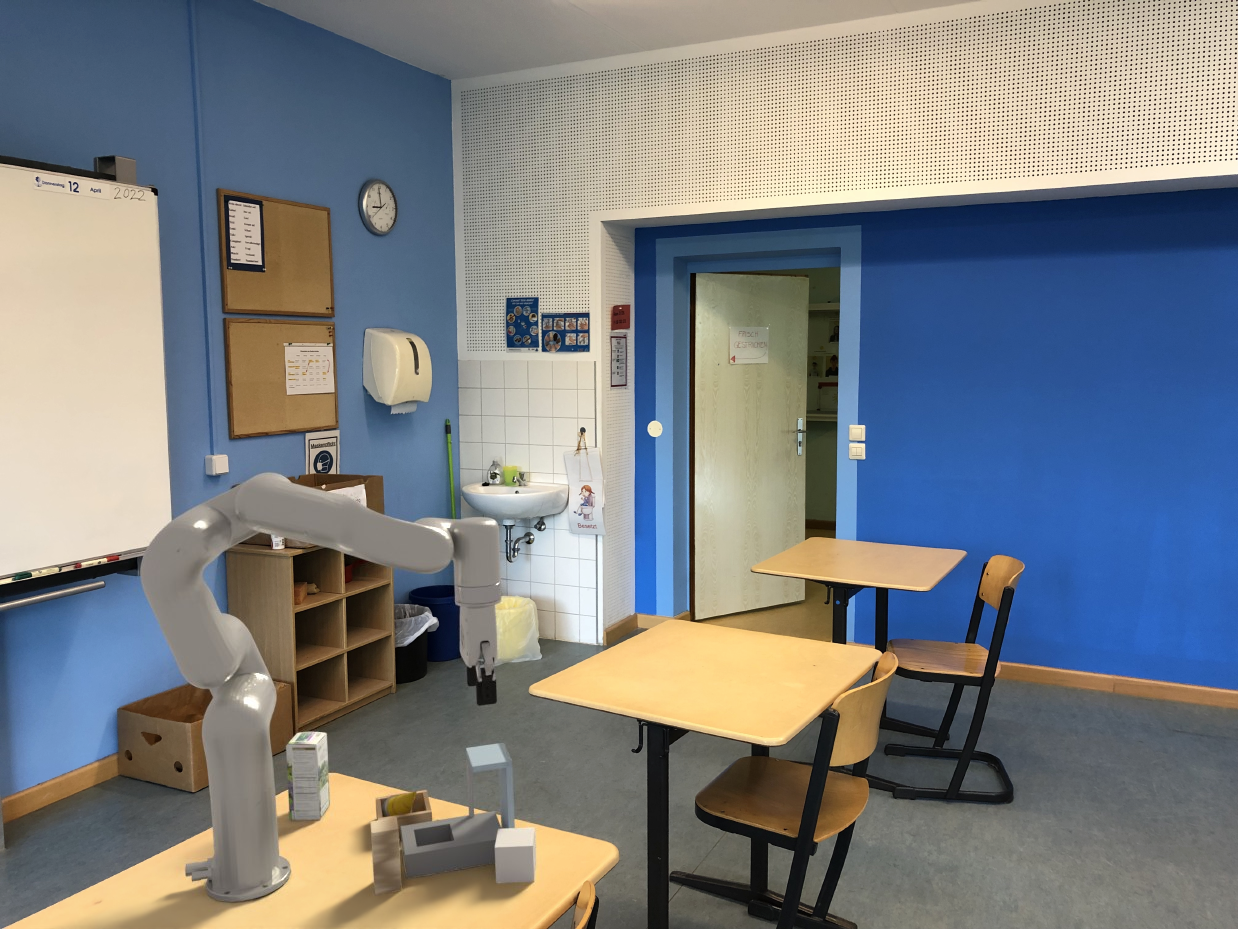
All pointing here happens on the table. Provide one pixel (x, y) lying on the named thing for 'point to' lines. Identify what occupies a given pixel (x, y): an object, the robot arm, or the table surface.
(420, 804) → the divided wooden box
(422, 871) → the socket
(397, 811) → the yellow curved piece
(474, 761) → the blue-grey arch piece
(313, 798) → the syrup box
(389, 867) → the peg
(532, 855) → the white block
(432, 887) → the table surface
